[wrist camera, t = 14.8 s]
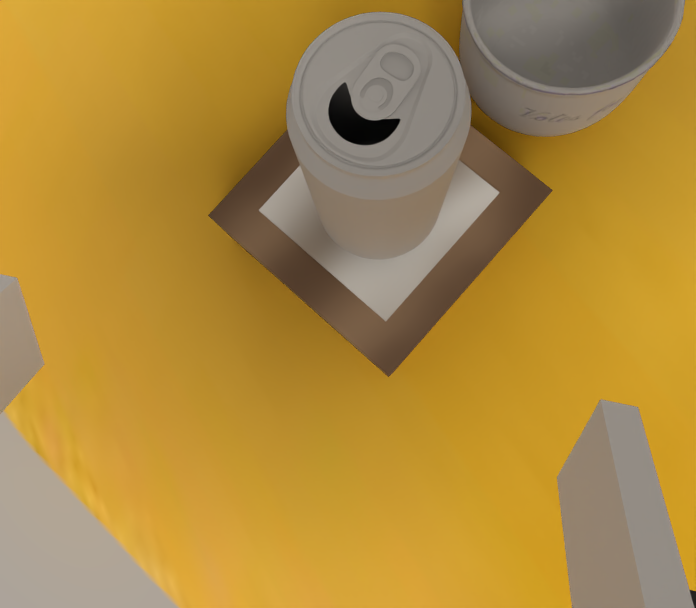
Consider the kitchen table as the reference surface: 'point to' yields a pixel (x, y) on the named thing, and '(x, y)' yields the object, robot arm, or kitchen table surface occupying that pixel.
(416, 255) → the walnut riser
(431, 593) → the kitchen table surface
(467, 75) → the teacup
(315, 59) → the beverage can
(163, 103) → the kitchen table surface
